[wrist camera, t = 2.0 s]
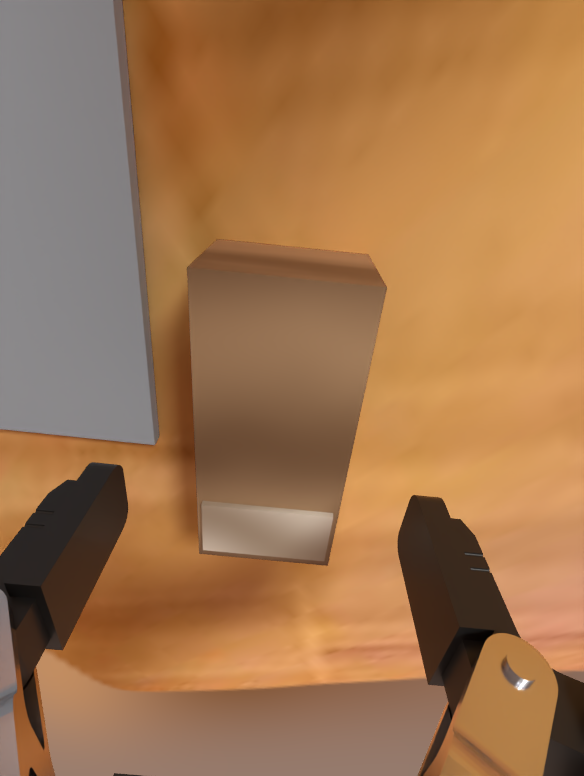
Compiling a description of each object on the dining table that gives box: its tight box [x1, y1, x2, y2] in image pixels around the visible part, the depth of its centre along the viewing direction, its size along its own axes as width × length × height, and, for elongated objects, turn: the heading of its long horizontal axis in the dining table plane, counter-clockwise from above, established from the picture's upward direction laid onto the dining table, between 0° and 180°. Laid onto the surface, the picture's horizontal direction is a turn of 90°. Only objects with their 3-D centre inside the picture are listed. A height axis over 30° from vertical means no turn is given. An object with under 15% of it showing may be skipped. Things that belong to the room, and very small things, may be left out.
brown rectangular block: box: [187, 239, 387, 566], centre depth 14 cm, size 11×5×4 cm, turn 175°
